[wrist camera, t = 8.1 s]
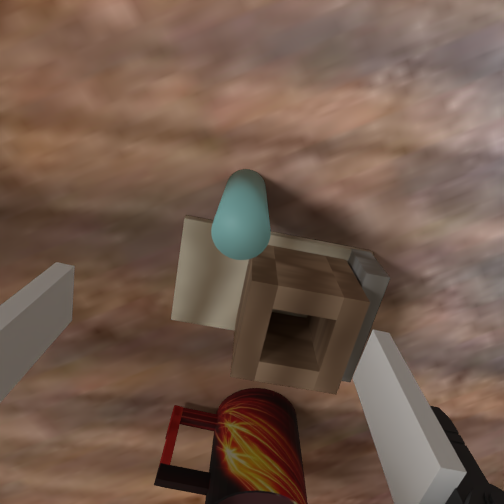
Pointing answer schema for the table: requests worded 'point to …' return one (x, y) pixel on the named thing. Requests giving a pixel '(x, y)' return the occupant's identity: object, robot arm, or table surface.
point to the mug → (242, 452)
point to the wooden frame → (233, 275)
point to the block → (297, 320)
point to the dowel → (242, 217)
